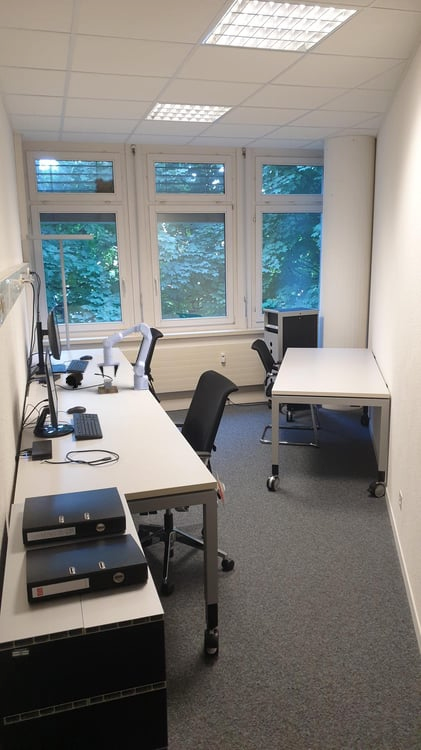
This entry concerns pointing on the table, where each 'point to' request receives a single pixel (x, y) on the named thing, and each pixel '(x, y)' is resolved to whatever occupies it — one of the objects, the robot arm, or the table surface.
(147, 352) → the robot arm
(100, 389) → the stand
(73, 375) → the security camera
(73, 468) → the table surface
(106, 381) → the housing
